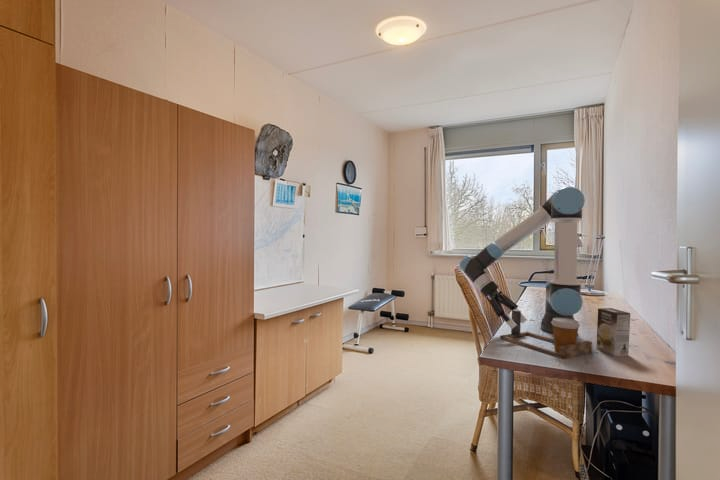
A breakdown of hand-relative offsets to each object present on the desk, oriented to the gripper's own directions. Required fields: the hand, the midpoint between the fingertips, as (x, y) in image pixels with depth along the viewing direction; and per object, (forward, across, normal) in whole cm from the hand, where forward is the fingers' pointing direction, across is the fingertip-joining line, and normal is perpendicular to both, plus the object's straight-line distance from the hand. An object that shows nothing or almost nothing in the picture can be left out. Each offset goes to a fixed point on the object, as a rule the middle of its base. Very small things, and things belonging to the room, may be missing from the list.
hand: (519, 324), depth 160 cm
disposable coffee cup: (+18, +8, +9) cm, 21 cm away
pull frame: (+12, +5, +4) cm, 13 cm away
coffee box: (+27, -5, +19) cm, 34 cm away
